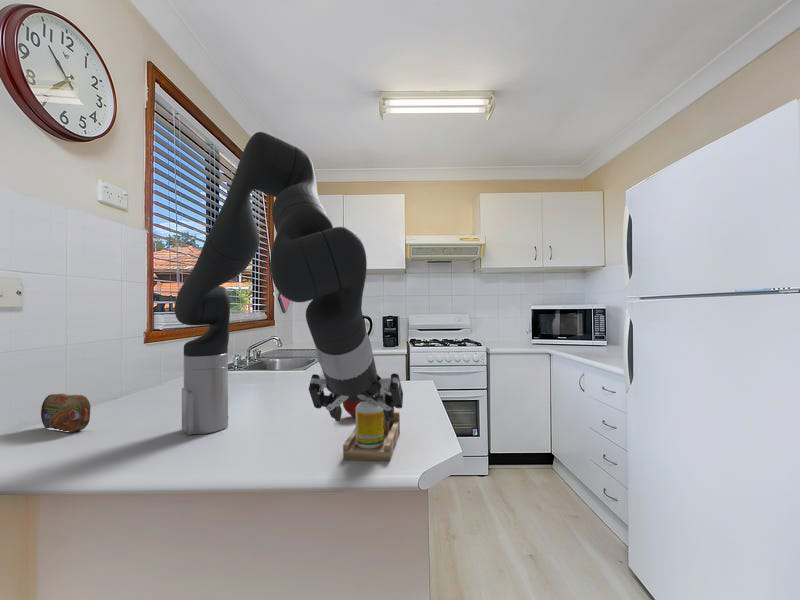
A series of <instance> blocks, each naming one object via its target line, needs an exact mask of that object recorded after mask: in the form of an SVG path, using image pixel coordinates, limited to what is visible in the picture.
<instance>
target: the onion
mask: <svg viewBox="0 0 800 600" xmlns="http://www.w3.org/2000/svg"><path fill="white" fill-rule="evenodd" d="M359 403H360V401H353V402H347V400H346V401H344V402H343V403H342V407H343V409H344V410H345V411H346V412H347V413H348V415H350V416H351V417H352V418H356V416H355V410H356V406H357V405H358V404H359Z"/></svg>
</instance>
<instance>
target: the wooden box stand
mask: <svg viewBox="0 0 800 600" xmlns="http://www.w3.org/2000/svg"><path fill="white" fill-rule="evenodd" d="M384 389H385V390H386V388H384ZM386 391H387V392H388V390H386ZM384 399H385V398H383V400H384ZM400 416H401V415H400V411H394V417H393V418H390V421H386V420H385V415H384V443H383V445H382V446H380V447H377V448H372V449H366V448H361V447H358V446H357V445H356V427H355V428H354V429H353V431H352V432H351V433H350V434H349V436H348V437H347V439H346V440H345V441H344V442H343V444H342V456H343V457H342V458H343V459H342V460H344V461H347V460H348V461H377V462H378V461H386V462H391V460H392V457H393V453H394V450H395V448H396V445H397V442H398V439H399V436H400V434H401V429H400V428H401V426H400V425H401V424H400V423H401V422H400Z"/></svg>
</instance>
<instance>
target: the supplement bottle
mask: <svg viewBox="0 0 800 600" xmlns="http://www.w3.org/2000/svg"><path fill="white" fill-rule="evenodd" d="M373 397H375V395H374V396H373ZM383 410H384V409H383V408H381V407H380V406H377V407H375V406H373V405H371V404H370V403H368V402H360V403H359V404H358V405H357V406H356V410H355V416H356V417H355V428H356V445H357V446H358V447H361V448H366V449H372V448H377V447H380V446H382V445H383V443H384V411H383Z"/></svg>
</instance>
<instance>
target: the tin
mask: <svg viewBox="0 0 800 600" xmlns="http://www.w3.org/2000/svg"><path fill="white" fill-rule="evenodd" d="M90 416H91V403H90V400H89V399H88V398H87V397H86V396H85V395H83V394H70V393H56V394H53V393H52V394H48V395H46V397H45V398H44V400H43V402H42V405H41V408H40V418H41V422H42V425H43V426H44V428H45V429H46V428H54V429H59V430H63V431H69V432H71V433H74V432H73V431H75V432H79V431H82V430H84V429H86V428H87V426H88V425H89V422H90V418H91V417H90ZM78 430H79V431H78Z"/></svg>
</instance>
